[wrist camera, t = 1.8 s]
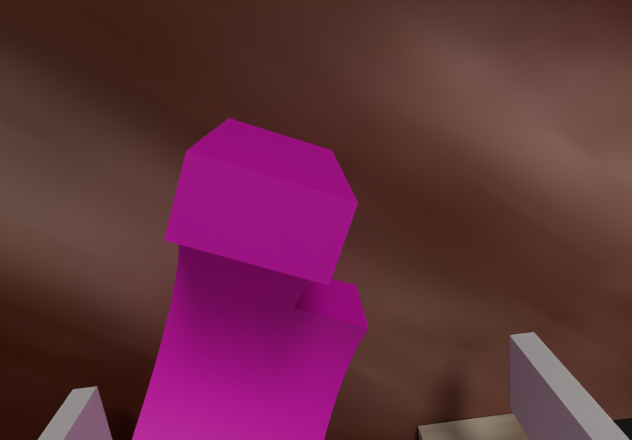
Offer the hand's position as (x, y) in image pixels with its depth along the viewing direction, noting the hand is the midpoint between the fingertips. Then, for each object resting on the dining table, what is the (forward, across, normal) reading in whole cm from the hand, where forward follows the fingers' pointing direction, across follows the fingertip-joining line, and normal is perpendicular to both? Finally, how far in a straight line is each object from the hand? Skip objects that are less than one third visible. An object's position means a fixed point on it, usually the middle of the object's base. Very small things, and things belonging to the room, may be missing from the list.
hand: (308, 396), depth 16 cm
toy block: (+4, -2, 0) cm, 5 cm away
